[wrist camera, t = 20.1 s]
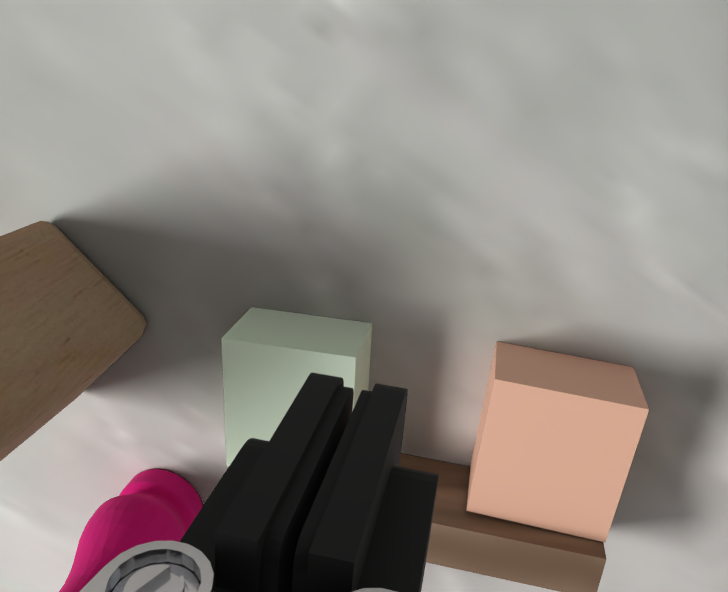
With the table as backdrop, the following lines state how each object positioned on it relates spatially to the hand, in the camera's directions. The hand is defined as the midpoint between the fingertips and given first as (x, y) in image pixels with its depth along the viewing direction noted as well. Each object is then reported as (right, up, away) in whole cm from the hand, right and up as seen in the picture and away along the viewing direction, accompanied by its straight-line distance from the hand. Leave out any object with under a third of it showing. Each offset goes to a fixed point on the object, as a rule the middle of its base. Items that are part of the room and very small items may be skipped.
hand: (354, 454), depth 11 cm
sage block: (-3, -3, +32) cm, 32 cm away
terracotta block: (+12, -5, +29) cm, 32 cm away
